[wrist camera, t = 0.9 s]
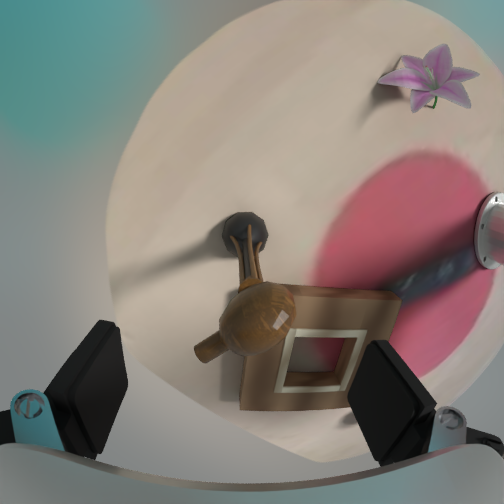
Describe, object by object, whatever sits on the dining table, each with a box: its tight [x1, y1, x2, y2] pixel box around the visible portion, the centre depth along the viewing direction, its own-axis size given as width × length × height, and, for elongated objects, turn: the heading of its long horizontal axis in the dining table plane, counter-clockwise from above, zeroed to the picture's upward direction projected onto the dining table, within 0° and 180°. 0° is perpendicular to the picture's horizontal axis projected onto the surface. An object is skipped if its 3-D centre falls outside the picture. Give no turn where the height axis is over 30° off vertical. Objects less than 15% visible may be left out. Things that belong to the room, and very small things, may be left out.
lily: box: [378, 44, 480, 113], centre depth 22 cm, size 12×12×10 cm
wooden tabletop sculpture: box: [194, 212, 297, 363], centre depth 20 cm, size 6×5×20 cm
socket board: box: [239, 284, 402, 411], centre depth 33 cm, size 18×18×3 cm
